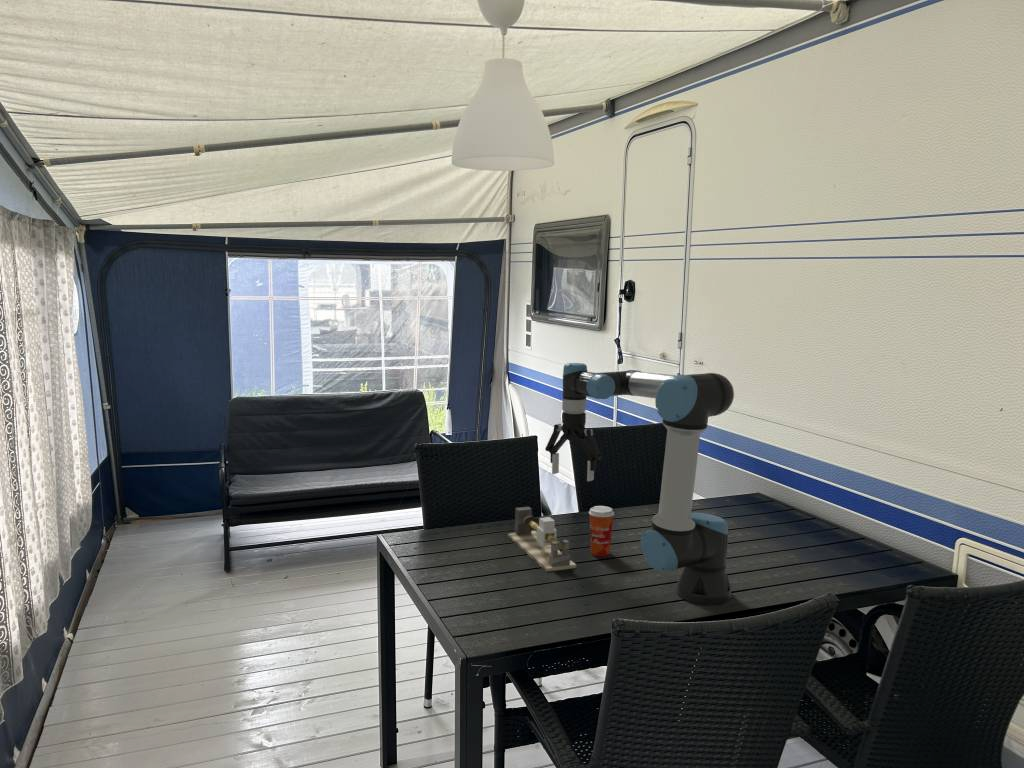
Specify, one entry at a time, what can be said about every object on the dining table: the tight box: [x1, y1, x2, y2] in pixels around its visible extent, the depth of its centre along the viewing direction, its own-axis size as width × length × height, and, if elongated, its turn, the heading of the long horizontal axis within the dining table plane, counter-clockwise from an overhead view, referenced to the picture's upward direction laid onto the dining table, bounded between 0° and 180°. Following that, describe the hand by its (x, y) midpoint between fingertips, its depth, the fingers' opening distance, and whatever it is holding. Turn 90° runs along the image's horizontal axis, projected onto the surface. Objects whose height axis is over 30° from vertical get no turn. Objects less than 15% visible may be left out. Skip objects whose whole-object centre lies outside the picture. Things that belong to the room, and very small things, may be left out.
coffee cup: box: [588, 505, 615, 557], centre depth 251 cm, size 8×8×15 cm
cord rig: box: [507, 506, 577, 572], centre depth 252 cm, size 34×10×10 cm, turn 21°
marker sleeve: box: [536, 516, 558, 546], centre depth 247 cm, size 5×5×8 cm
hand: (572, 476), depth 247 cm, fingers open, 13 cm apart
